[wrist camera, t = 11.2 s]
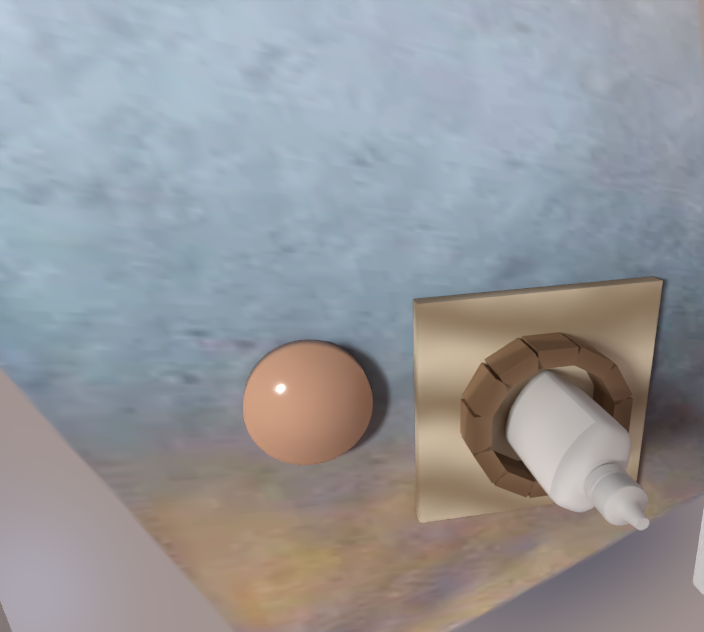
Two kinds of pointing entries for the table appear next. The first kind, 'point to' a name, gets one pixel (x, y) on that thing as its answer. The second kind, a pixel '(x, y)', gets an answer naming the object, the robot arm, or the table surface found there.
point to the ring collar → (520, 381)
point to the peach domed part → (307, 402)
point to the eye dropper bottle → (575, 450)
